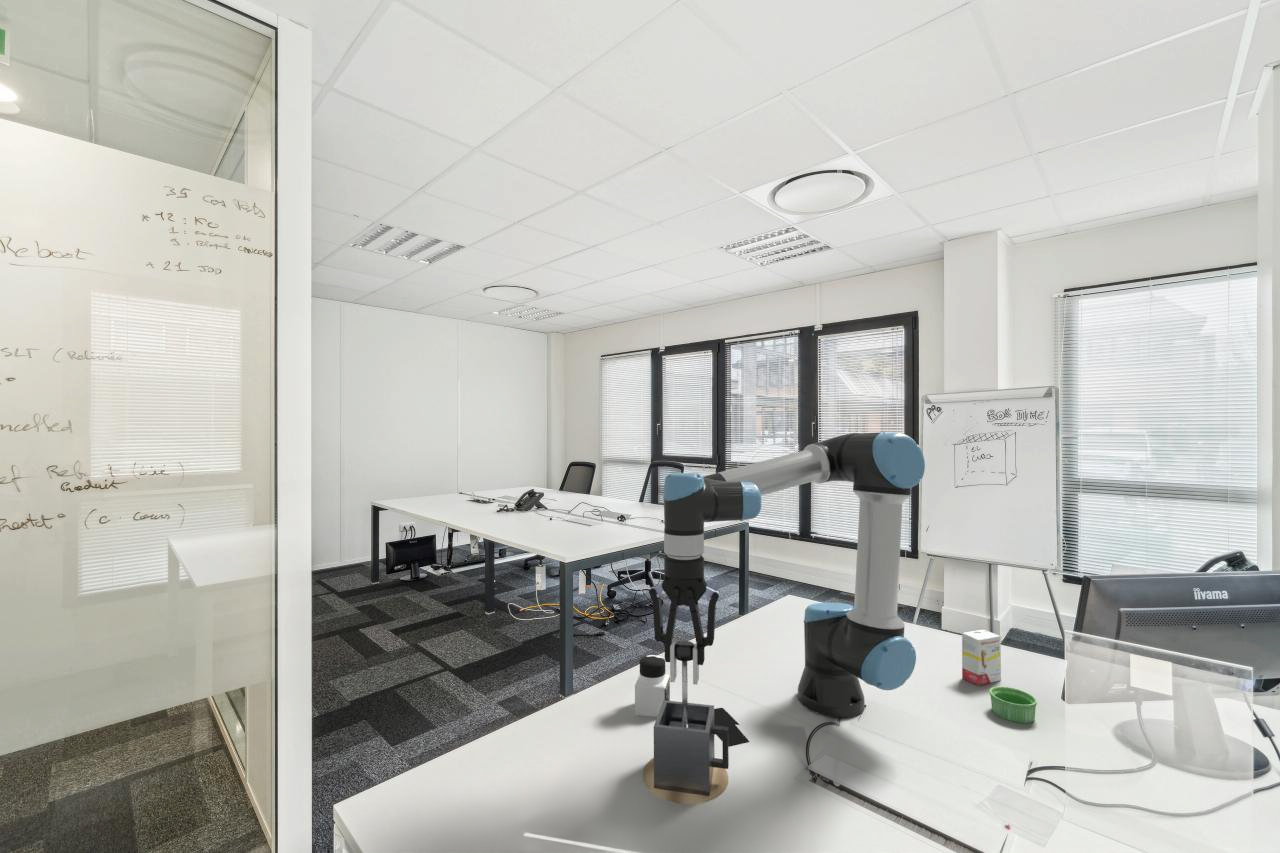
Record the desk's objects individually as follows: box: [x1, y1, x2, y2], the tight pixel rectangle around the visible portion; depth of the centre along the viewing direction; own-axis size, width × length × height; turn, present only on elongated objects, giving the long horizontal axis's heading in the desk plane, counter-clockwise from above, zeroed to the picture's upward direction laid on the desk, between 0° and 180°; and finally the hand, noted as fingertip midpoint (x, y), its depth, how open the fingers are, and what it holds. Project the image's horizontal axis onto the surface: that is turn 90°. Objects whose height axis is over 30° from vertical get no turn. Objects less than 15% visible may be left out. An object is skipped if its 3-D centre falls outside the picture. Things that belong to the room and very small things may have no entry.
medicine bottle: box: [634, 654, 671, 718], centre depth 125 cm, size 7×7×12 cm
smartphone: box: [714, 707, 750, 748], centre depth 117 cm, size 7×1×15 cm
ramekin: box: [988, 686, 1038, 724], centre depth 123 cm, size 9×9×4 cm
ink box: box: [961, 629, 1002, 686], centre depth 140 cm, size 9×5×12 cm, turn 110°
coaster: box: [642, 757, 730, 805], centre depth 100 cm, size 16×16×1 cm
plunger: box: [669, 640, 705, 730], centre depth 101 cm, size 7×7×17 cm
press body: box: [653, 700, 730, 796], centre depth 100 cm, size 13×10×11 cm
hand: (684, 679), depth 101 cm, fingers closed on plunger, 4 cm apart
